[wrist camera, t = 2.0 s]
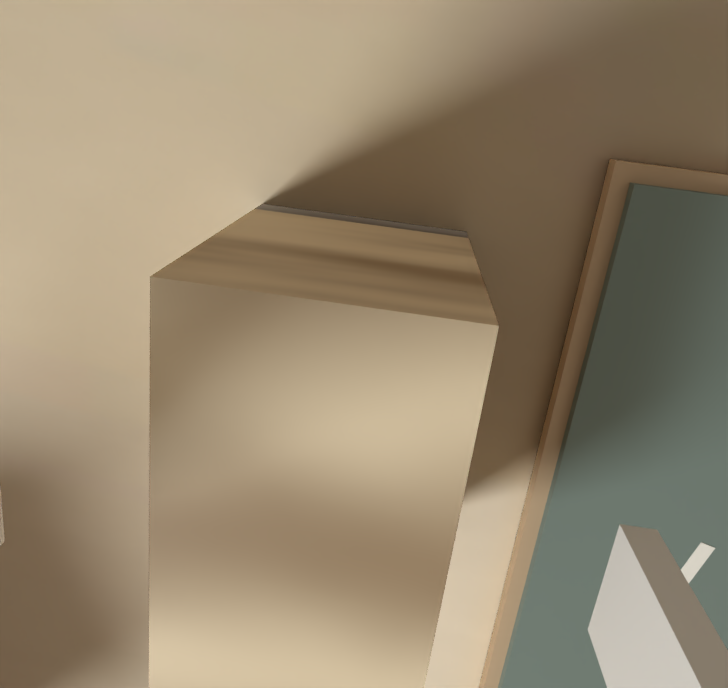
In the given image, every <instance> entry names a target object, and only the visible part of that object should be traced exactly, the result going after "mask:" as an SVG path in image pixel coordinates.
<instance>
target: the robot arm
mask: <svg viewBox="0 0 728 688" xmlns="http://www.w3.org/2000/svg"><path fill="white" fill-rule="evenodd" d="M4 541H5V538H4V525H3V512H2V500H1V487H0V546H1V545H2V544H3V542H4ZM588 632H589V635H590V638H591V641H592V644H593V647H594V650H595V653H596V656H597V659H598V662H599V665H600V668H601V671H602V674H603V677H604V680H605V683H606V686H607V688H728V650H727V648H726V647H725V645H724V643H723V642H722V640H721V638H720V636H719V635H718V633H717V631H716V630H715V628H714V626H713V625H712V623H711V621H710V619H709V618H708V616H707V614H706V613H705V611H704V609H703V607H702V606H701V604H700V602H699V601H698V599H697V597H696V595H695V594H694V592H693V590H692V589H691V587H690V585H689V583H688V582H687V580H686V578H685V577H684V575H683V573H682V571H681V570H680V568H679V566H678V565H677V563H676V561H675V559H674V558H673V556H672V554H671V553H670V551H669V549H668V547H667V546H666V544H665V542H664V541H663V539H662V537H661V535H660V534H659V532H658V530H656V529H649V528H642V527H636V526H629V525H622V524H620V525H619V528H618V531H617V535H616V538H615V541H614V544H613V548H612V551H611V554H610V558H609V561H608V564H607V567H606V571H605V574H604V577H603V581H602V584H601V587H600V591H599V594H598V597H597V600H596V604H595V607H594V610H593V614H592V617H591V620H590V623H589V627H588Z"/></svg>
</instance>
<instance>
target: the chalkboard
mask: <svg viewBox="0 0 728 688" xmlns="http://www.w3.org/2000/svg"><path fill="white" fill-rule="evenodd" d="M620 524H622V525H629V526H636V527H642V528H649V529H656V530H658V532H659V534H660V535H661V537H662V539H663V541H664V542H665V544H666V546H667V547H668V549H669V551H670V553H671V554H672V556H673V558H674V559H675V561H676V563H677V565H678V566H679V568H680V570H681V571H682V573H683V575H684V577H685V578H686V580H687V582H688V583H689V585H690V587H691V589H692V590H693V592H694V594H695V595H696V597H697V599H698V601H699V602H700V604H701V606H702V607H703V609H704V611H705V613H706V614H707V616H708V618H709V619H710V621H711V623H712V625H713V626H714V628H715V630H716V631H717V633H718V635H719V636H720V638H721V640H722V642H723V643H724V645H725V647H726V648H727V650H728V174H721V173H713V172H706V171H698V170H691V169H683V168H675V167H668V166H660V165H653V164H645V163H637V162H630V161H622V160H615V159H610V161H609V165H608V169H607V173H606V177H605V181H604V185H603V189H602V193H601V197H600V201H599V205H598V209H597V213H596V217H595V221H594V225H593V229H592V233H591V237H590V241H589V245H588V249H587V253H586V257H585V262H584V266H583V270H582V274H581V278H580V282H579V286H578V290H577V294H576V298H575V302H574V306H573V310H572V314H571V318H570V322H569V326H568V330H567V334H566V338H565V342H564V346H563V350H562V354H561V358H560V362H559V366H558V370H557V375H556V379H555V383H554V387H553V391H552V395H551V399H550V403H549V407H548V411H547V415H546V419H545V423H544V427H543V431H542V435H541V439H540V443H539V447H538V451H537V455H536V459H535V463H534V467H533V471H532V475H531V479H530V483H529V488H528V492H527V496H526V500H525V504H524V508H523V512H522V516H521V520H520V524H519V528H518V532H517V536H516V540H515V544H514V548H513V552H512V556H511V560H510V564H509V568H508V572H507V576H506V580H505V584H504V588H503V592H502V596H501V600H500V605H499V609H498V613H497V617H496V621H495V625H494V629H493V633H492V637H491V641H490V645H489V649H488V653H487V657H486V661H485V665H484V669H483V673H482V677H481V681H480V685H479V688H607V686H606V683H605V680H604V677H603V674H602V671H601V668H600V665H599V662H598V659H597V656H596V653H595V650H594V647H593V644H592V641H591V638H590V635H589V632H588V627H589V623H590V620H591V617H592V614H593V610H594V607H595V604H596V600H597V597H598V594H599V591H600V587H601V584H602V581H603V577H604V574H605V571H606V567H607V564H608V561H609V558H610V554H611V551H612V548H613V544H614V541H615V538H616V535H617V531H618V528H619V525H620Z"/></svg>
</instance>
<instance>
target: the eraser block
mask: <svg viewBox="0 0 728 688" xmlns="http://www.w3.org/2000/svg"><path fill="white" fill-rule="evenodd" d="M498 329H499V324H498V321H497V318H496V315H495V312H494V310H493V307H492V304H491V301H490V298H489V295H488V292H487V290H486V287H485V284H484V281H483V278H482V275H481V272H480V269H479V267H478V264H477V261H476V258H475V255H474V252H473V249H472V247H471V244H470V241H469V238H468V235H467V232H465V231H457V230H450V229H443V228H435V227H428V226H421V225H414V224H406V223H399V222H392V221H384V220H377V219H370V218H362V217H355V216H348V215H340V214H333V213H326V212H318V211H311V210H304V209H296V208H289V207H282V206H274V205H267V204H261V205H260V206H258V207H257V208H255V209H254V210H252V211H250V212H249V213H247V214H246V215H244V216H243V217H241V218H240V219H238V220H237V221H235V222H233V223H232V224H230V225H229V226H227V227H226V228H224V229H223V230H221V231H220V232H218V233H217V234H215V235H213V236H212V237H210V238H209V239H207V240H206V241H204V242H203V243H201V244H200V245H198V246H197V247H195V248H193V249H192V250H190V251H189V252H187V253H186V254H184V255H183V256H181V257H180V258H178V259H176V260H175V261H173V262H172V263H170V264H169V265H167V266H166V267H164V268H163V269H161V270H160V271H158V272H156V273H155V274H153V275H152V276H150V465H149V688H424V685H425V680H426V675H427V670H428V666H429V661H430V656H431V651H432V646H433V642H434V637H435V632H436V627H437V622H438V618H439V613H440V608H441V603H442V598H443V594H444V589H445V584H446V579H447V574H448V569H449V565H450V560H451V555H452V550H453V545H454V541H455V536H456V531H457V526H458V521H459V517H460V512H461V507H462V502H463V497H464V493H465V488H466V483H467V478H468V473H469V469H470V464H471V459H472V454H473V449H474V445H475V440H476V435H477V430H478V425H479V421H480V416H481V411H482V406H483V401H484V397H485V392H486V387H487V382H488V377H489V373H490V368H491V363H492V358H493V353H494V348H495V344H496V339H497V334H498Z"/></svg>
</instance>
